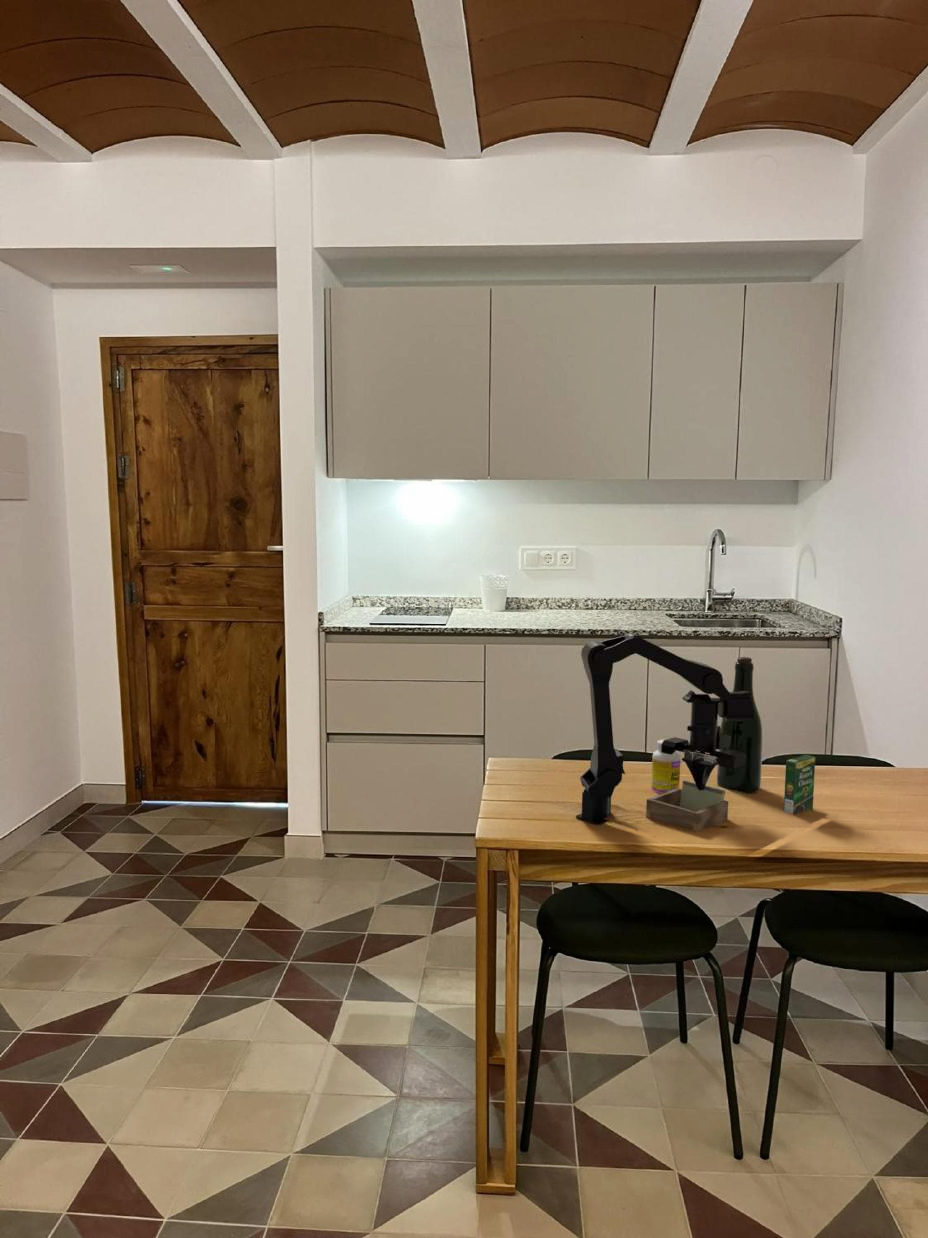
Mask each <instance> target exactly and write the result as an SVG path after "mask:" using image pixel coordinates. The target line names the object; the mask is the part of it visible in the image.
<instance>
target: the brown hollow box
mask: <svg viewBox="0 0 928 1238" xmlns="http://www.w3.org/2000/svg"><path fill="white" fill-rule="evenodd" d="M681 793H682V788H680V787H679V788H676V789H674V790H671V791H668V792H665V793H660V794H658V795H655V796H652V797H648V798H646V806H645V810H646V811H645V817H646V818H648V819H651V820H655V821H658V822H662V823H665V824H669V825H671V826H675V827H678V828H681V829H684V830H687V831H692V832H694V833H699V832H702V831H704V830H706V829H708V828H712V827H714V826H715V825H717V824H720V823H722V822H725V821H726V820H728V815H729V814H728V813H729V801H727V800H724V801H722V802H719V803H717V804H714V805H712V806H709V807H707V808H704V809H702V810H699V811H694V810H690V809H686V808H683V807H680V800H681Z"/></svg>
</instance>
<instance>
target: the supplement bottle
mask: <svg viewBox="0 0 928 1238" xmlns="http://www.w3.org/2000/svg"><path fill="white" fill-rule="evenodd" d="M664 740H665V739H659V740H657V742H656V746H657V750H655V751H654V752H653V753H652V762H651V784H650V789H651V791H653V792H655V793H658V794H659V793H660V794H663V793H665V792H668V791H671V790H674V789H676V788H679V789H680V776H681V754H679V751H676V750H675V752H674V753H673V754H671V755H670V754H666V753H662V752H661V744H662V742H663V741H664Z"/></svg>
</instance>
